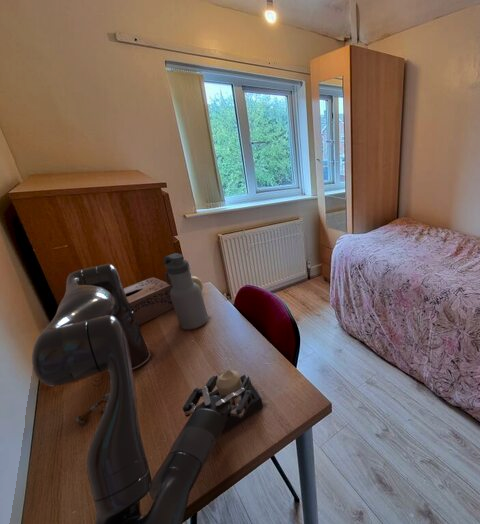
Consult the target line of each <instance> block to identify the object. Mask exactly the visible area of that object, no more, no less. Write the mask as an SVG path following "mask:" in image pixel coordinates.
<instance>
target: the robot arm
mask: <svg viewBox="0 0 480 524" xmlns="http://www.w3.org/2000/svg"><path fill="white" fill-rule="evenodd" d="M65 283H66V285H65V292H64V295H63V298H62V299H61V300H60V301H59V305H58V307H57V310H56V313H55V315H54V316H53V318H52V320H51V321H50V322H49V323H48V324H47V325H46V327H44V329H43V330H42V331H41V332H40V333H39V334H38V336H37V338H36V340H35V342H34V345H33V348H32V353H31V363H32V369H33V372H34V376H36V378H37V379H38V380H39V381H40V382H41V383H43V384H44V385H46V386H49V387H61V386H67V385H70V384H73V383H76V382H79V381H82V380H85V379H87V378H91V377H94V376H98V375H100V374H103V373H105V372H108V373H109V398H108V400H106V401H107V402H106V403H105V404H106V405H105V406H106V407H105V406H104V407H105V410H104V411H103V412H102V415H101V418H100V420H99V423H98V425H97V428H96V430H95V432H94V435H93V437H92V439H91V442H90V445H89V448H88V452H87V458H86V473H87V478H88V482H89V486H90V491H91V496H92V499H93V504H94V507H95V509H96V512H95V513H96V514H95V522H94V524H183V521H184V517H185V513H186V510H187V506H188V502H189V497H190V494H191V491H192V490H193V488H194V486H195V485H196V482H197V480H198V478H199V477H200V474H201V472H202V470H203V468H204V466H205V465H206V463H207V462H208V460H209V458H211V457H210V456H211V455H212V453H213V451H214V450H215V448H216V445H217V443H218V441H219V439H220V437H221V435H222V433H223V432H224V431H223V429H224V427H225V424H226V421H227V419H228V418H229V417H231V416H237V417H238V419H239V420H240V419H242V418H243V417H244V415H245V413H246V411H247V409H248V407H249V405H250V403H251V401H252V394H251V391H250V390H249V388H250V386H251V384H252V382H251V381H252V380H251V378H250V376H246V377H245V379H244V381H243V383H242V385H241V387H240V389H239V390H238V391H236V392H235V393H234V392H232V393H231V394H229V395H228V396H217V395H214V396H212V397H210V395H209V394H210V393H212V392H213V391H214V389H215V388H216V387H217V385H216V381H217V379H218V378H219V376H218V375H216V374H213V376H212V377H210V378H209V379H208V381H207V383H206V384H205V385H204V386H203V387H201V388H199V387H195V388H194V389H193V390H192V392H191V393H190V395H189V397H188V398H187V400H186V402H185V403H184V405H183V406H182V411H183V414H184V417H186V418H188V420H187V421H186V423H185V424H184V426H183V428H182V429H181V430H180V431H179V433H178V435H177V437H176V438H175V440H174V442H173V444H172V445H171V446H170V447H171V448H170V449H169V452H168V454H167V455H166V457H165V459H164V460H163V462H162V464H161V465H160V467H159V468H158V470H157V471H156V473H155V474H154V476H153V478H152V473H151V469H150V466H149V465H150V464H149V462H148V461H149V460H148V458H147V455H146V450H145V447H144V443H143V439H142V433H141V429H140V424H139V413H138V403H137V395H136V386H135V385H136V384H135V379H134V372H133V371H134V370H137V369H139V368H141V367H142V366H144V365H145V364H146V363H148V361H149V360H150V359H151V352H150V351H149V348H148V344H147V342H146V341H145V338H144V335H143V333H142V331H141V328H140V325H138V323H137V321H136V319H135V316H134V314H133V311H132V309H131V306H130V304H129V302H128V299H127V297H126V294H125V291H124V288H125V287H124V285H123V282H122V279H121V276H120V273H119V271H118V270H117V268H116V267H115V266H114V265H113V264H111V263H104V264H100V265H96V266H95V265H94V266H91V267H87V268H82V269H77V270H75V271H72V272H71V273H69V274H68V276H67V278H66V281H65ZM239 395H240V396H239ZM238 396H239V397H238ZM237 397H238V398H237ZM201 398H203V401H202V402H201V403H199V401H200V399H201ZM231 399H232V400H233V402H232V403H231V404H230V400H231ZM239 402H240V404H239ZM198 403H199V404H198ZM238 404H239V405H238ZM235 407H236V408H235ZM233 408H235V409H233ZM232 409H233V410H232ZM242 420H243V419H242ZM222 431H223V432H222ZM147 494H148V495H149V496H150V498H151V499H152V500H153V502H152V504H151V507H150V508H149V510H148V511H147V513H146V514H142V512H141V511H142V510H141V501H142V500H143V499H144V498H145V497H146V496H147Z"/></svg>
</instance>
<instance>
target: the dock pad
mask: <svg viewBox="0 0 480 524" xmlns="http://www.w3.org/2000/svg"><path fill="white" fill-rule="evenodd" d="M245 377H247V375H246V374H243V375H240V379H241V383H243V381H244V379H245ZM249 390H250V391H251V394H252V401H251V403H250V405H249V407H248V409H247V411H246V413H245V415H244V417H243V418H242V419H240V420H239V419H238V417H237V416H231V417H229V418H228V419H227V421H226V424H225V427H224V429H223V431H222V433H224V432H225V431H226V430H228V429H230V428H232V427H233V426H234V425H236V424H238V423H239V422H242V420H244V419H245V418H247V417H250V416H251V415H252V414H254V413H255V412H257V411H259V410H260V409H262V408H263V407H264V405H263V401H262V397H261V396H260V394H259V393H258V392H257V390H256V388H255V387H254V385H253V384H252V383H251V386H250V388H249ZM209 395H210V397H212V396H214V395H217V396H220V395H219V391H218V388H217V389H215V390H213V391H212V392H211V393H209Z"/></svg>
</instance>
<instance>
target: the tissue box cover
mask: <svg viewBox="0 0 480 524" xmlns="http://www.w3.org/2000/svg"><path fill="white" fill-rule="evenodd" d="M123 288H124V291H125V294H126V297H127V299H128V302H129V304H130V306H131V309H132V311H133V314H134V316H135V319H136V321H137V323H138V326H140V325H142V324H144V323H146V322H148V321H151V320H152V319H154V318H156V317H158V316H160V315H162V314H164V313H166V312H168V311H170V310H172V309H174V306H173V303H172V300H171V297H170V291H171V289H172V288H173V286H172V285H168V284H167V282H166V281H164V280H162V279H159V278H157V277H153V276H152V277H149V278H146V279H143V280H142V281H139V282H136V283H134V284H131V285H128V286H126V287H123Z"/></svg>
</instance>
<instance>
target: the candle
mask: <svg viewBox="0 0 480 524" xmlns="http://www.w3.org/2000/svg"><path fill="white" fill-rule="evenodd" d="M240 377H241V375H240V373H239V372H238V371H236V370H230V369H228V370H226V371H224V372H223V373H222V374H220V375H219V376H218V379H217V381H216V388H217V389H218V391H219V395H220V396H228V395H229V394H231V393H232V392H234V393H235V392H236V391H238V390H239V389H240V387H241V385H242V383H241V379H240ZM239 396H240V395H239ZM239 396H238V397H239ZM238 397H237V398H238ZM232 402H233V400H232V399H231V400H230V404H231V403H232ZM239 404H240V402H239ZM239 404H238V405H239ZM235 408H236V407H235ZM235 408H233V409H235ZM233 409H232V410H233Z"/></svg>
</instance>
